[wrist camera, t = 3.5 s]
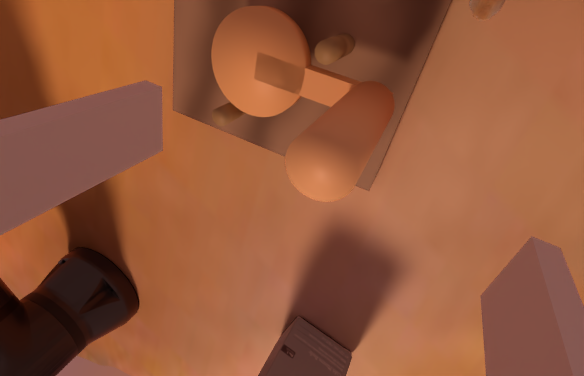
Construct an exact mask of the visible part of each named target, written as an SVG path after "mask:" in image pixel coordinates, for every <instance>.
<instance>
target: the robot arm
mask: <svg viewBox="0 0 584 376" xmlns="http://www.w3.org/2000/svg"><path fill="white" fill-rule="evenodd" d="M161 151H163V142H162V87H161V86H158V85H156V84H153V83H151V82H148V81H142V82H138V83H134V84H131V85H127V86H123V87H120V88H116V89H112V90H109V91H105V92H101V93H97V94H94V95H90V96H86V97H83V98H79V99H75V100H72V101H68V102H64V103H60V104H57V105H53V106H49V107H46V108H42V109H38V110H35V111H31V112H27V113H23V114H20V115H16V116H12V117H9V118H5V119H1V120H0V235H2V234H4V233H6V232H8V231H9V230H11V229H13V228H15V227H17V226H19V225H21V224H23V223H25V222H27V221H29V220H31V219H32V218H34V217H36V216H38V215H40V214H42V213H44V212H46V211H48V210H50V209H52V208H54V207H56V206H57V205H59V204H61V203H63V202H65V201H67V200H69V199H71V198H73V197H75V196H77V195H79V194H80V193H82V192H84V191H86V190H88V189H90V188H92V187H94V186H96V185H98V184H100V183H102V182H103V181H105V180H107V179H109V178H111V177H113V176H115V175H117V174H119V173H121V172H123V171H125V170H126V169H128V168H130V167H132V166H134V165H136V164H138V163H140V162H142V161H144V160H146V159H148V158H149V157H151V156H153V155H155V154H157V153H159V152H161ZM481 308H482V322H483V337H484V351H485V365H486V376H584V306H583V304H582V301H581V299H580V296H579V294H578V291H577V289H576V286H575V284H574V281H573V278H572V276H571V273H570V271H569V268H568V266H567V263H566V261H565V258H564V256H563V253H562V251H561V248H559V247H557V246H554V245H552V244H549V243H547V242H544V241H542V240H539V239H537V238H534V237H531V238H530V239H529V240H528V241H527V242H526V244H525V245H524V246H523V247H522V248H521V249H520V251H519V252H518V253H517V254H516V255H515V256H514V258H513V259H512V260H511V261H510V262H509V263H508V265H507V266H506V267H505V268H504V269H503V270H502V272H501V273H500V274H499V275H498V276H497V277H496V278H495V280H494V281H493V282H492V283H491V284H490V285H489V287H488V288H487V289H486V290H485V291H484V292H483V294H482V295H481ZM137 311H138V299H137V296H136V293H135V291H134V289H133V287H132V285H131V284H130V282H129V281H128V279H127V278H126V277H125V276H124V274H123V273H122V272H121V271H120V270H119V269H118V268H117V267H116V266H115V265H114V264H113V263H112V262H110V261H109V260H108V259H106V258H105V257H104V256H102V255H100V254H99V253H97V252H95V251H92V250H90V249H86V248H77V249H75V250H73V251H72V252H70V253H69V254H67V255H66V256H64V257H63V258H62V259H61V260H60V261H59V262H58V264H57V265H56V266H55V267H54V268H53V269H52V270H51V272H50V273H49V274H48V275H47V276H46V278H45V279H44V280H43V281H42V282H41V284H40V285H39V286H38V287H37V288H36V289H35V290H34V291H33V292H31V293H30V294H28V295H27V296H25V297H24V298H23V299H21V300H20V301H19V299H18V298H17V297H16V296H15V295H14V294H13V293H12V291H11V290H10V289H9V288H8V287H7V285H6V284H5V283H4V282H3V281H2V279H1V278H0V376H56V375H57V374H58V373H59V372H60V371H61V370H62V369H63V368H64V367H65V366H66V365H67V364H68V363H70V361H72V359H74V358H75V357H76V356H77V355H78V354H79V353H80V352H81V351H82V350H83V349H84V348H85V347H86V346H87V345H88V344H90V343H91V342H93V341H95V340H97V339H98V338H100V337H102V336H104V335H106V334H108V333H109V332H111V331H113V330H115V329H116V328H118V327H120V326H122V325H124V324H125V323H127V322H128V321H129V320H130V319H131V318H132V317H133V316H134V315H135V314H136V313H137Z"/></svg>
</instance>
